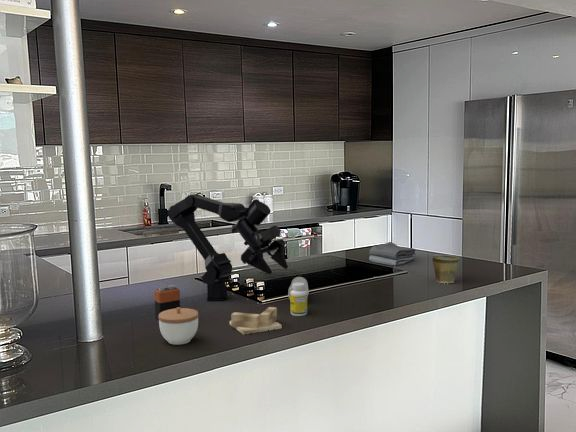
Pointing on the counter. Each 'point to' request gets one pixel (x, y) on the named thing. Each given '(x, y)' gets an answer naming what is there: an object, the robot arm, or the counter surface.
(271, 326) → the v block
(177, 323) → the lidded jar
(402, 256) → the towel
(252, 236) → the robot arm
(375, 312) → the counter surface
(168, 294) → the battery
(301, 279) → the beer glass
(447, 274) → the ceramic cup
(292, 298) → the supplement bottle
